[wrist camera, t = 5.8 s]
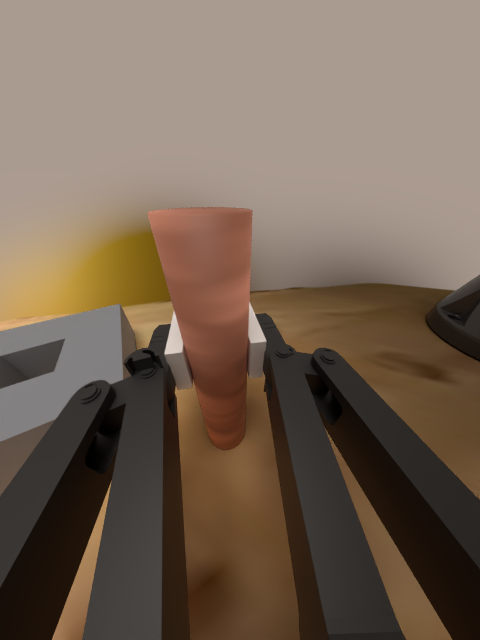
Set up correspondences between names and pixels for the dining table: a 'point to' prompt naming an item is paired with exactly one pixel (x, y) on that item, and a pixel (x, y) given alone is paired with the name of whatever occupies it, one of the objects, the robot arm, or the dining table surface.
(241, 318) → the dowel
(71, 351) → the socket block
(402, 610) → the dining table surface
